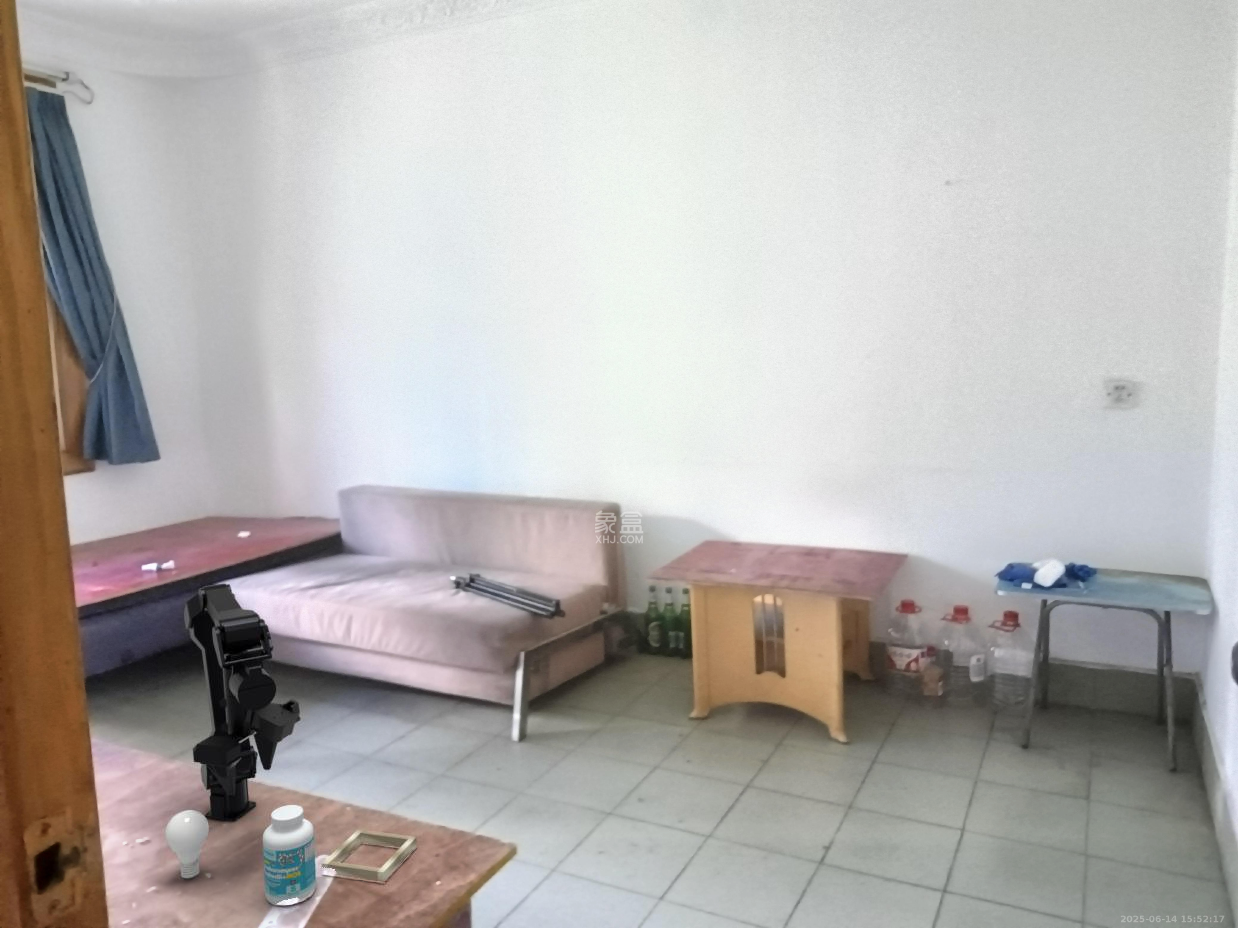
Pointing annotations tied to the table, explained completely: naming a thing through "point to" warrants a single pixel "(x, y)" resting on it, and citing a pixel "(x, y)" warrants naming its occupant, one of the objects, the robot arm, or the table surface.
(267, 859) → the pill bottle
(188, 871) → the lightbulb
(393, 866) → the wooden collar
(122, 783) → the table surface
